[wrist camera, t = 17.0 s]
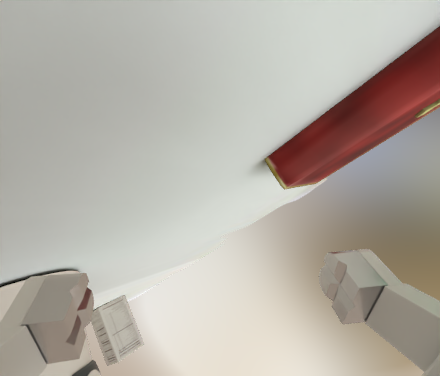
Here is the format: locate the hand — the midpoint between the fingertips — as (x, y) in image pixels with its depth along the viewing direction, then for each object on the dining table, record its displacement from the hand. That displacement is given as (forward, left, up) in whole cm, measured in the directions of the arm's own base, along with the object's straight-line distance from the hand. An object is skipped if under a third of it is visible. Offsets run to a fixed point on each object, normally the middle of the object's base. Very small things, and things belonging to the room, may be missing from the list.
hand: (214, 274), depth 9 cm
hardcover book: (+21, -11, -8) cm, 25 cm away
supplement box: (-37, -85, -7) cm, 93 cm away
